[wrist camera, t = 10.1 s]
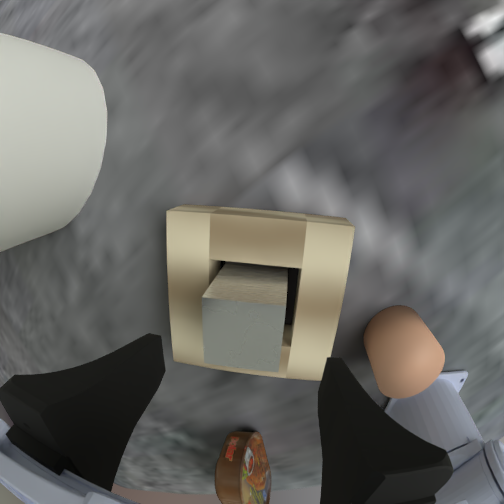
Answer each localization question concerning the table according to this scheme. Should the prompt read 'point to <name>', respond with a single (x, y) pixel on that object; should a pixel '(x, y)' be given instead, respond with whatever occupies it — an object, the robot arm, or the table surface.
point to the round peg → (402, 352)
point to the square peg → (245, 316)
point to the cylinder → (46, 138)
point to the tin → (243, 470)
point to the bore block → (265, 253)
